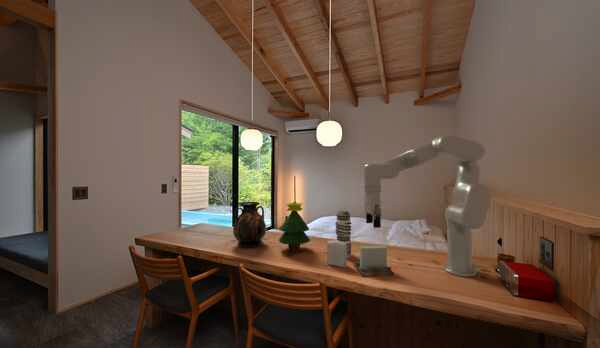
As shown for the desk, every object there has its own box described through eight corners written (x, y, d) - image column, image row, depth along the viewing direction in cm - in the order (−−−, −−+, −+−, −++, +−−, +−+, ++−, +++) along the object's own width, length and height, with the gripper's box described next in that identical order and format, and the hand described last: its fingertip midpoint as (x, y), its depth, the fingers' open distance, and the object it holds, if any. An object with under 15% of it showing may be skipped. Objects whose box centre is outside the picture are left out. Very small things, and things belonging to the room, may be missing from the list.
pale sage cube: (384, 266, 113) (384, 245, 113) (386, 268, 110) (386, 247, 110) (360, 266, 112) (359, 246, 112) (361, 269, 109) (361, 248, 109)
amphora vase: (235, 252, 138) (235, 205, 138) (231, 242, 158) (230, 201, 158) (270, 247, 147) (270, 203, 147) (261, 238, 167) (261, 200, 167)
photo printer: (347, 265, 117) (347, 241, 117) (345, 268, 114) (344, 243, 114) (329, 261, 123) (328, 238, 123) (325, 264, 119) (325, 240, 119)
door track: (383, 265, 117) (383, 259, 117) (394, 275, 105) (394, 269, 105) (354, 265, 117) (354, 260, 117) (361, 276, 105) (361, 270, 105)
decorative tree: (274, 254, 134) (274, 202, 134) (283, 244, 153) (282, 199, 153) (307, 256, 131) (307, 203, 131) (311, 245, 150) (311, 199, 150)
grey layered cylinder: (350, 252, 137) (350, 210, 137) (352, 258, 127) (352, 212, 127) (335, 252, 137) (334, 210, 137) (336, 257, 128) (335, 212, 128)
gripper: (359, 188, 119) (359, 221, 119) (371, 191, 102) (372, 229, 102) (373, 188, 120) (374, 221, 120) (388, 190, 102) (388, 229, 102)
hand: (373, 225), depth 111 cm, fingers open, 9 cm apart
